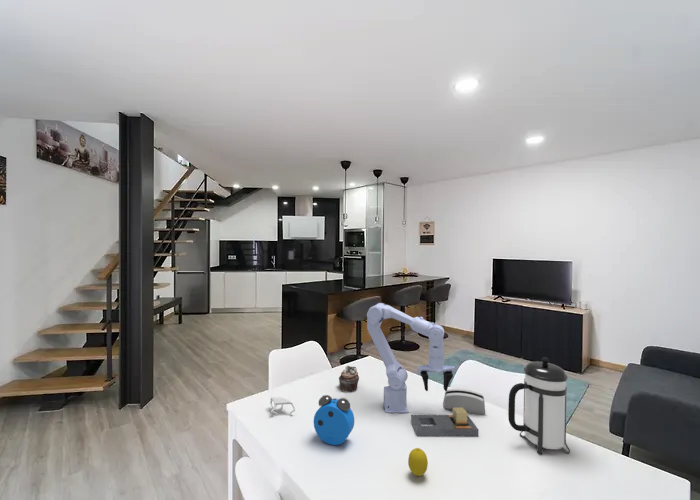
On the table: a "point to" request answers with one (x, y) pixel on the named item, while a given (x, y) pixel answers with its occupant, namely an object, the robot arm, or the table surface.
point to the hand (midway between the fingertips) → (435, 390)
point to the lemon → (417, 462)
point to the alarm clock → (333, 420)
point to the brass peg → (459, 417)
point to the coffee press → (542, 405)
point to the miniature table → (280, 402)
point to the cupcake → (349, 379)
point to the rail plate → (442, 426)
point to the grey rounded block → (464, 400)
